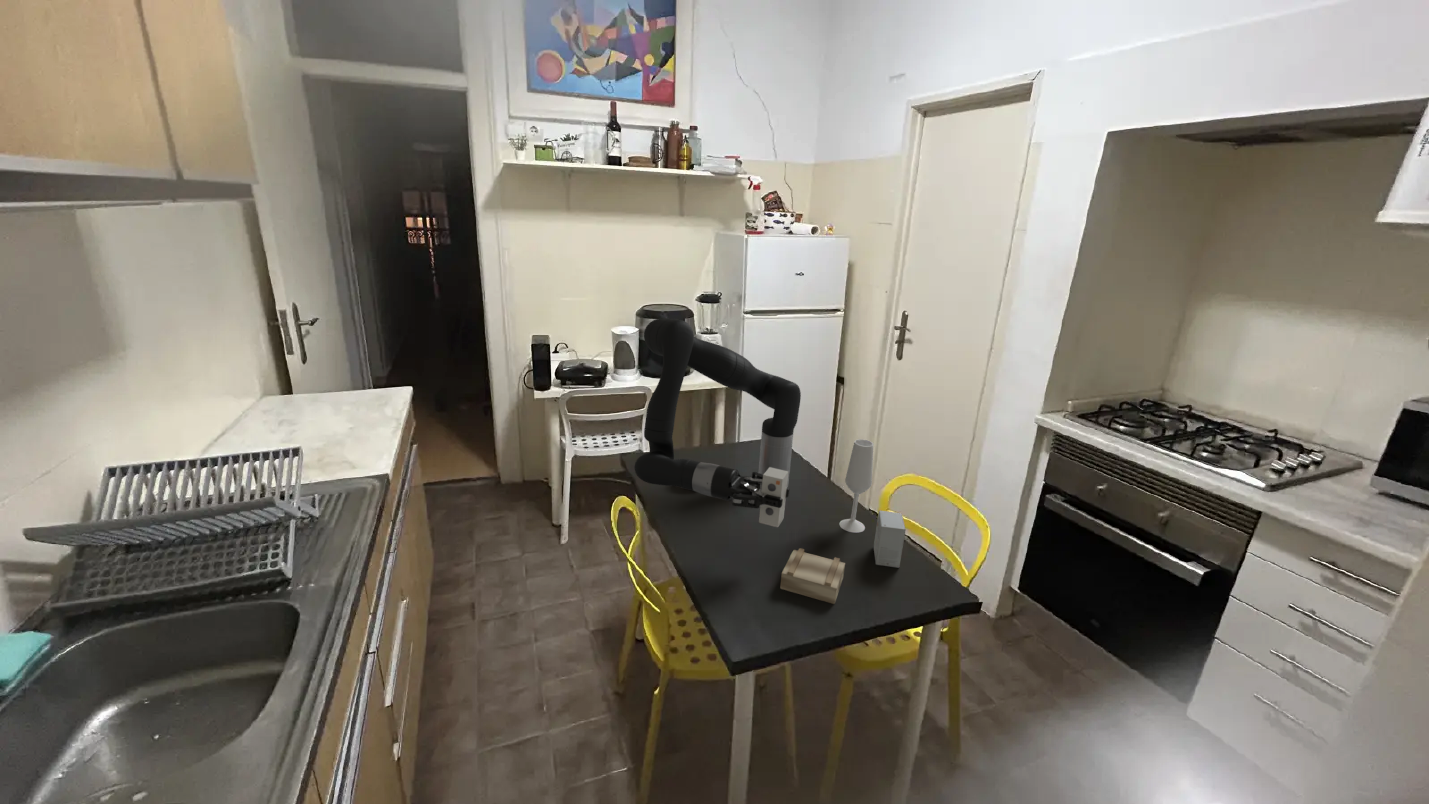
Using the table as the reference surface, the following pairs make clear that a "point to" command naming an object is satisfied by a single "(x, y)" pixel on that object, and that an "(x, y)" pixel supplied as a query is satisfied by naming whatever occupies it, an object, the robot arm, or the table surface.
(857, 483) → the champagne flute
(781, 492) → the tall grey box
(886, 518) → the small box
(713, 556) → the table surface
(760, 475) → the robot arm
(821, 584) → the brown wooden ridged block
